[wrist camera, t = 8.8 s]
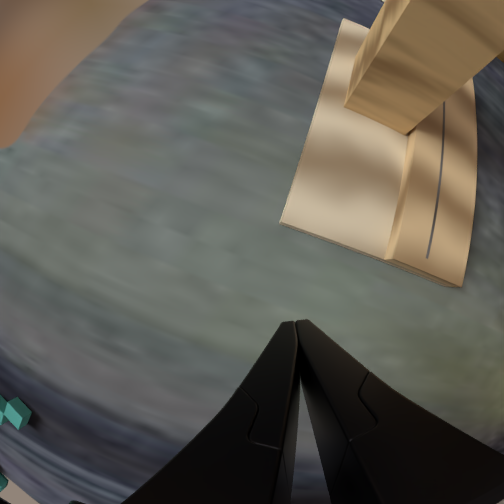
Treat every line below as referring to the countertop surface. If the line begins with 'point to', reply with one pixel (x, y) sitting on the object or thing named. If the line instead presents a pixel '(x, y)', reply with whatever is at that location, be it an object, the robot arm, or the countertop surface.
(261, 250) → the countertop surface
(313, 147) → the board
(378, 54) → the tan wooden tall block
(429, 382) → the countertop surface
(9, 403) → the alien figure
